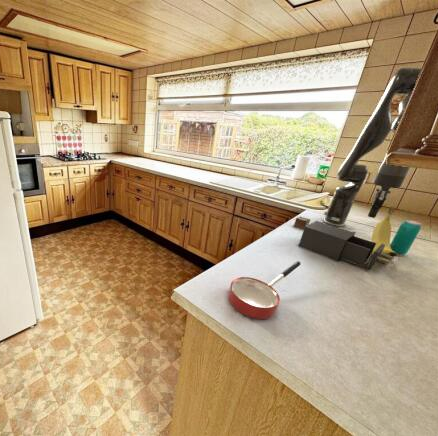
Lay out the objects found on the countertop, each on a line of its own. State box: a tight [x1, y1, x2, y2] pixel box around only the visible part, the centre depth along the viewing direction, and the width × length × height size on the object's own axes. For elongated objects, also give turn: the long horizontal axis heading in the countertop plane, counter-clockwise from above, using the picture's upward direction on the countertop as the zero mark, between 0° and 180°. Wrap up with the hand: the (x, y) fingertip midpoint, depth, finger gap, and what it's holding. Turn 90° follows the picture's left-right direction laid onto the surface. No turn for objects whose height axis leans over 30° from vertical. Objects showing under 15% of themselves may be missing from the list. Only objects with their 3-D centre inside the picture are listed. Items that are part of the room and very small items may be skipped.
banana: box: [370, 206, 399, 265], centre depth 95 cm, size 23×6×20 cm, turn 148°
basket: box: [339, 235, 399, 272], centre depth 91 cm, size 18×11×8 cm, turn 37°
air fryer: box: [298, 220, 356, 262], centre depth 101 cm, size 15×13×10 cm
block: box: [293, 216, 311, 231], centre depth 123 cm, size 5×5×5 cm
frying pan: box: [228, 260, 301, 320], centre depth 73 cm, size 32×13×6 cm, turn 130°
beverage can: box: [390, 219, 423, 257], centre depth 100 cm, size 6×6×15 cm
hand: (371, 216), depth 91 cm, fingers closed
